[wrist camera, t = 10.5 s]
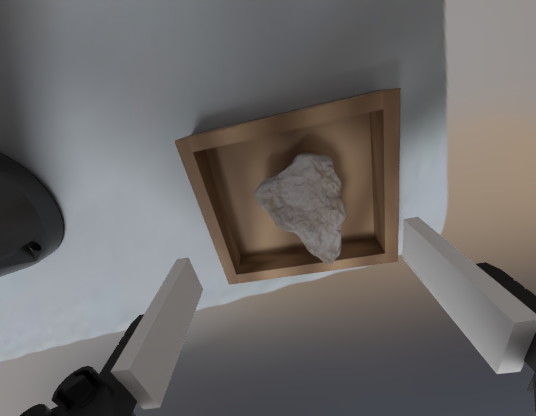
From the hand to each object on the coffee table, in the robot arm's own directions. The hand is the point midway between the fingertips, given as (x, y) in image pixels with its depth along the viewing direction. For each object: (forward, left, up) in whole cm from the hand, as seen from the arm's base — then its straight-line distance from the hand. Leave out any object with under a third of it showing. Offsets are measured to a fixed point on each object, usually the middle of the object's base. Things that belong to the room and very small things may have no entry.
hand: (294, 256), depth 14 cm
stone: (+1, -1, -11) cm, 11 cm away
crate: (+1, 0, -12) cm, 12 cm away
